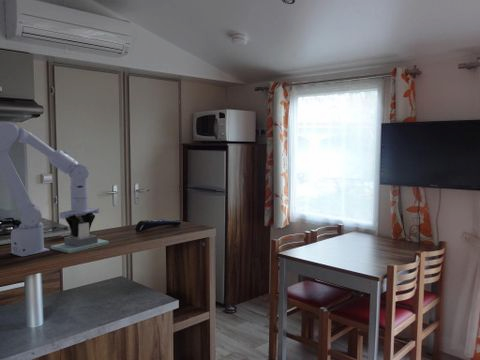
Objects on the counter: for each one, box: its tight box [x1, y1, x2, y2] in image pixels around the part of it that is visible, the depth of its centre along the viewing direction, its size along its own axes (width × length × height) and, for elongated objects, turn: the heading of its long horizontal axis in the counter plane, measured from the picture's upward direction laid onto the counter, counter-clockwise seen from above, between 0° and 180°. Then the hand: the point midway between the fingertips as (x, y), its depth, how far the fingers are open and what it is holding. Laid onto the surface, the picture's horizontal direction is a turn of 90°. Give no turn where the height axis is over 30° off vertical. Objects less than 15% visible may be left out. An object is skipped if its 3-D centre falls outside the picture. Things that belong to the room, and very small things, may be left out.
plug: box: [73, 218, 90, 239], centre depth 144 cm, size 4×4×8 cm
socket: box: [50, 233, 110, 254], centre depth 145 cm, size 16×11×4 cm
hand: (80, 235), depth 145 cm, fingers closed on plug, 4 cm apart
